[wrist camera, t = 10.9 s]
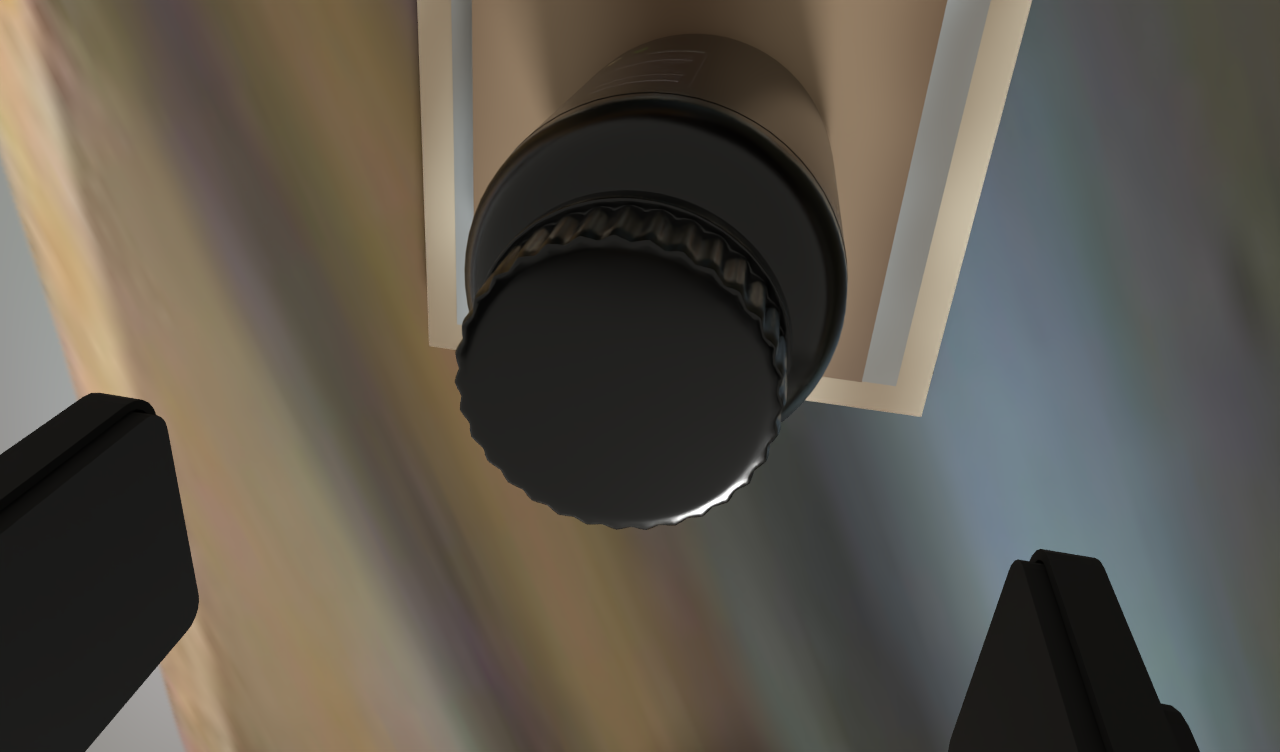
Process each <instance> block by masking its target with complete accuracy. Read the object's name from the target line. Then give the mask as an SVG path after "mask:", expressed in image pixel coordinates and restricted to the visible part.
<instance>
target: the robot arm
mask: <svg viewBox="0 0 1280 752" xmlns="http://www.w3.org/2000/svg"><path fill="white" fill-rule="evenodd" d="M198 604H199V595H198V589H197V584H196V579H195V573H194V568H193V563H192V557H191V552H190V546H189V541H188V536H187V530H186V525H185V520H184V514H183V509H182V504H181V498H180V493H179V488H178V482H177V477H176V472H175V466H174V461H173V456H172V450H171V445H170V440H169V434H168V429H167V426H166V423H165V421H164V420H163V419H162V417H159V416H157V415H156V414H155V411H154V409H153V407H152V406H151V405H150V404H149V403H148V402H146V401H144V400H140V399H134V398H128V397H122V396H116V395H110V394H104V393H91V394H88V395H86V396H84V397H82V398H81V399H79V400H78V401H77V402H75V403H74V404H72V405H71V406H69V407H68V408H67V409H66V410H64V411H62V412H61V413H59V414H58V415H57V416H55V417H54V418H52V419H51V420H49V421H48V422H47V423H46V424H44V425H42V426H41V427H39V428H38V429H36V430H35V431H34V432H32V433H31V434H30V435H28V436H27V437H25V438H24V439H22V440H21V441H19V442H18V443H17V444H15V445H14V446H12V447H11V448H9V449H8V450H6V451H5V452H4V453H2V454H1V455H0V752H85V751H86V750H87V749H88V748H89V746H90V745H91V744H92V743H93V742H94V740H95V739H96V738H97V737H98V736H99V734H100V733H101V732H102V731H103V730H104V729H105V727H106V726H107V725H108V724H109V723H110V722H111V720H112V719H113V718H114V717H115V716H116V714H117V713H118V712H119V711H120V710H121V709H122V707H123V706H124V705H125V703H127V701H128V700H129V699H130V698H131V697H132V696H133V694H134V693H135V692H136V691H137V690H138V688H139V687H140V686H141V685H142V684H143V682H144V681H145V680H146V679H147V678H148V677H149V675H150V674H151V673H152V672H153V671H154V670H155V668H156V667H157V666H158V665H159V664H160V662H161V661H162V660H163V659H164V658H165V657H166V655H167V654H168V653H169V652H170V651H171V649H172V648H173V647H174V646H175V645H176V644H177V642H178V641H179V640H180V639H181V638H182V636H183V635H184V634H185V633H186V632H187V631H188V629H189V628H190V626H191V625H192V623H193V621H194V619H195V617H196V613H197V610H198ZM948 752H1200V751H1199V748H1198V746H1197V744H1196V742H1195V739H1194V737H1193V735H1192V732H1191V730H1190V728H1189V726H1188V724H1187V723H1186V721H1185V719H1184V718H1183V716H1182V714H1181V713H1180V712H1179V711H1178V710H1176V709H1175V708H1174V707H1173V706H1171V705H1166V704H1161V703H1160V701H1159V699H1158V696H1157V694H1156V691H1155V689H1154V687H1153V684H1152V682H1151V679H1150V677H1149V675H1148V672H1147V670H1146V667H1145V665H1144V663H1143V660H1142V658H1141V655H1140V653H1139V650H1138V648H1137V646H1136V643H1135V641H1134V638H1133V636H1132V634H1131V631H1130V629H1129V626H1128V624H1127V622H1126V619H1125V617H1124V614H1123V612H1122V610H1121V607H1120V605H1119V602H1118V600H1117V597H1116V595H1115V593H1114V590H1113V588H1112V585H1111V583H1110V581H1109V578H1108V576H1107V573H1106V571H1105V569H1104V567H1103V565H1102V563H1101V562H1100V561H1099V560H1098V559H1096V558H1092V557H1086V556H1080V555H1074V554H1068V553H1062V552H1056V551H1050V550H1044V549H1040V550H1037V551H1036V552H1035V553H1034V554H1033V555H1032V557H1031V559H1030V561H1023V560H1015V561H1014V562H1013V564H1012V565H1011V567H1010V570H1009V572H1008V575H1007V578H1006V581H1005V584H1004V587H1003V589H1002V592H1001V595H1000V598H999V601H998V604H997V607H996V610H995V613H994V615H993V618H992V621H991V624H990V627H989V630H988V633H987V636H986V639H985V641H984V644H983V647H982V650H981V653H980V656H979V659H978V662H977V665H976V667H975V670H974V673H973V676H972V679H971V682H970V685H969V688H968V691H967V693H966V696H965V699H964V702H963V705H962V708H961V711H960V714H959V717H958V719H957V722H956V725H955V728H954V731H953V734H952V737H951V740H950V744H949V750H948Z"/></svg>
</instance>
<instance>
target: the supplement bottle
mask: <svg viewBox="0 0 1280 752" xmlns="http://www.w3.org/2000/svg"><path fill="white" fill-rule="evenodd" d="M464 273H465V290H466V298H467V305H468V309H469V313H468V314H467V316H466V317H465V318H464V320H463V323H462V336H463V339H462V340H461V342H460V343H459V345H458V347H457V349H456V352H455V354H456V359H457V363H458V366H459V370H458V372H457V375H456V379H455V383H456V386H457V388H458V390H459V392H460V394H461V396H462V397H461V402H460V410H461V412H462V414H463V415H464V417H465V418H466V419H467V420H468V421H469V423H470V432H471V437H472V438H473V439H474V440H475V441H476V442H477V443H478V444H479V445H481V446H482V447H483V449H484V451H485V455H486V458H487V460H488V461H489V462H490V463H491V464H493V465H494V466H496V467H497V468H499V469H500V470H501V471H502V473H503V475H504V477H505V478H506V480H507V481H508V482H509V483H511V484H513V485H514V486H516V487H519V488H521V489H523V490H524V491H525V492H526V494H527V496H528V497H529V498H530V499H531V500H533V501H536V502H538V503H542V504H545V505H548V506H549V507H550V508H551V509H552V510H553V511H555V512H556V513H557V514H559V515H565V516H572V517H575V518H577V519H579V520H580V521H582V522H583V523H585V524H603V525H606V526H608V527H611V528H613V529H616V530H617V529H623V528H627V527H635V528H638V529H644V530H648V529H650V528H653V527H655V526H658V525H677V524H679V523H680V522H682V521H683V520H685V519H686V518H691V517H701V516H704V515H705V514H706V513H707V512H708V511H709V510H710V509H711V508H712V507H713V506H717V505H721V504H724V503H727V502H728V501H729V500H730V498H731V497H732V495H733V493H734V492H735V491H736V490H737V489H739V488H742V487H744V486H746V485H748V484H749V483H750V481H751V478H752V476H753V473H754V470H755V469H757V468H758V467H760V466H761V465H762V464H763V463H764V462H766V460H767V458H768V456H769V448H770V443H772V442H773V441H774V440H775V438H776V437H777V436H778V434H779V432H780V428H781V422H783V421H784V420H785V419H786V418H788V417H789V416H790V415H791V414H792V413H793V412H794V411H795V410H796V409H797V408H798V407H799V406H800V405H801V404H802V403H803V402H804V401H805V400H806V398H807V397H808V396H809V395H810V394H811V392H812V391H813V390H814V388H815V387H816V385H817V384H818V382H819V381H820V379H821V378H822V377H823V375H824V373H825V371H826V369H827V367H828V365H829V363H830V362H831V360H832V358H833V355H834V353H835V350H836V348H837V345H838V343H839V339H840V336H841V332H842V329H843V325H844V319H845V313H846V306H847V290H848V272H847V257H846V249H845V242H844V234H843V227H842V219H841V212H840V204H839V197H838V189H837V182H836V174H835V167H834V161H833V154H832V150H831V145H830V141H829V137H828V133H827V130H826V127H825V125H824V122H823V119H822V117H821V115H820V113H819V111H818V109H817V107H816V105H815V103H814V102H813V100H812V98H811V97H810V95H809V94H808V92H807V91H806V89H805V88H804V87H803V86H802V84H801V83H800V82H799V81H798V80H797V79H796V77H795V76H794V75H793V74H792V73H791V72H790V71H789V70H788V69H786V68H785V67H784V66H783V65H782V64H780V63H779V62H778V61H777V60H775V59H774V58H772V57H771V56H769V55H768V54H766V53H764V52H763V51H761V50H759V49H757V48H755V47H753V46H751V45H748V44H746V43H743V42H741V41H738V40H734V39H731V38H728V37H723V36H717V35H711V34H680V35H672V36H667V37H663V38H659V39H655V40H652V41H649V42H647V43H644V44H641V45H639V46H637V47H635V48H633V49H630V50H628V51H627V52H625V53H624V54H622V55H620V56H619V57H617V58H616V59H614V60H613V61H612V62H610V63H609V64H608V65H606V66H605V67H604V68H602V69H601V70H600V71H599V72H598V73H596V74H595V75H594V76H593V77H592V78H591V79H590V80H589V81H588V82H587V83H586V84H584V85H583V86H582V87H581V88H580V89H579V90H578V91H577V92H576V93H575V94H574V95H572V96H571V97H570V98H569V99H568V100H567V101H566V102H565V103H564V104H563V105H562V106H561V107H559V108H558V109H557V110H556V111H555V112H554V113H553V114H552V115H551V116H550V117H549V118H548V119H546V120H545V121H544V122H543V123H542V124H541V125H540V126H539V127H538V128H537V129H536V130H535V131H533V132H532V133H531V134H530V135H529V136H528V137H527V138H526V139H525V140H524V141H523V142H522V143H521V144H520V145H519V146H518V147H517V148H516V149H515V150H514V151H513V152H512V153H511V155H510V156H509V157H508V158H507V159H506V160H505V162H504V163H503V164H502V165H501V167H500V168H499V170H498V171H497V173H496V174H495V175H494V177H493V178H492V180H491V181H490V183H489V184H488V186H487V188H486V190H485V192H484V194H483V196H482V197H481V199H480V202H479V204H478V207H477V209H476V212H475V214H474V217H473V220H472V224H471V227H470V231H469V235H468V241H467V247H466V253H465V268H464Z"/></svg>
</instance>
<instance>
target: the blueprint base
mask: <svg viewBox="0 0 1280 752" xmlns="http://www.w3.org/2000/svg"><path fill="white" fill-rule="evenodd" d="M1031 2H1032V0H417V11H418V40H419V68H420V97H421V126H422V155H423V184H424V213H425V241H426V270H427V299H428V328H429V346H432V347H439V348H446V349H453V350H456V349H457V347H458V345H459V343H460V342H461V340H462V339H463V336H462V323H463V320H464V318H465V317H466V316H467V314H468V313H469V309H468V305H467V298H466V290H465V273H464V268H465V253H466V247H467V241H468V235H469V231H470V227H471V224H472V220H473V217H474V214H475V212H476V209H477V207H478V204H479V202H480V199H481V197H482V196H483V194H484V192H485V190H486V188H487V186H488V184H489V183H490V181H491V180H492V178H493V177H494V175H495V174H496V173H497V171H498V170H499V168H500V167H501V165H502V164H503V163H504V162H505V160H506V159H507V158H508V157H509V156H510V155H511V153H512V152H513V151H514V150H515V149H516V148H517V147H518V146H519V145H520V144H521V143H522V142H523V141H524V140H525V139H526V138H527V137H528V136H529V135H530V134H531V133H532V132H533V131H535V130H536V129H537V128H538V127H539V126H540V125H541V124H542V123H543V122H544V121H545V120H546V119H548V118H549V117H550V116H551V115H552V114H553V113H554V112H555V111H556V110H557V109H558V108H559V107H561V106H562V105H563V104H564V103H565V102H566V101H567V100H568V99H569V98H570V97H571V96H572V95H574V94H575V93H576V92H577V91H578V90H579V89H580V88H581V87H582V86H583V85H584V84H586V83H587V82H588V81H589V80H590V79H591V78H592V77H593V76H594V75H595V74H596V73H598V72H599V71H600V70H601V69H602V68H604V67H605V66H606V65H608V64H609V63H610V62H612V61H613V60H614V59H616V58H617V57H619V56H620V55H622V54H624V53H625V52H627V51H628V50H630V49H633V48H635V47H637V46H639V45H641V44H644V43H647V42H649V41H652V40H655V39H659V38H663V37H667V36H672V35H680V34H711V35H717V36H723V37H728V38H731V39H734V40H738V41H741V42H743V43H746V44H748V45H751V46H753V47H755V48H757V49H759V50H761V51H763V52H764V53H766V54H768V55H769V56H771V57H772V58H774V59H775V60H777V61H778V62H779V63H780V64H782V65H783V66H784V67H785V68H786V69H788V70H789V71H790V72H791V73H792V74H793V75H794V76H795V77H796V79H797V80H798V81H799V82H800V83H801V84H802V86H803V87H804V88H805V89H806V91H807V92H808V94H809V95H810V97H811V98H812V100H813V102H814V103H815V105H816V107H817V109H818V111H819V113H820V115H821V117H822V119H823V122H824V125H825V127H826V130H827V133H828V137H829V141H830V145H831V150H832V154H833V161H834V167H835V174H836V182H837V189H838V197H839V204H840V212H841V219H842V227H843V234H844V242H845V249H846V257H847V272H848V290H847V306H846V313H845V319H844V325H843V329H842V332H841V336H840V339H839V343H838V345H837V348H836V350H835V353H834V355H833V358H832V360H831V362H830V363H829V365H828V367H827V369H826V371H825V373H824V375H823V377H822V378H821V379H820V381H819V382H818V384H817V385H816V387H815V388H814V390H813V391H812V392H811V394H810V395H809V396H808V397H807V398H806V400H808V401H815V402H822V403H828V404H835V405H842V406H849V407H856V408H863V409H870V410H877V411H884V412H891V413H898V414H905V415H912V416H919V417H921V416H922V412H923V408H924V404H925V401H926V397H927V393H928V389H929V386H930V382H931V378H932V374H933V371H934V367H935V363H936V359H937V356H938V352H939V348H940V344H941V340H942V337H943V333H944V329H945V325H946V322H947V318H948V314H949V310H950V307H951V303H952V299H953V295H954V292H955V288H956V284H957V280H958V277H959V273H960V269H961V265H962V262H963V258H964V254H965V250H966V246H967V243H968V239H969V235H970V231H971V228H972V224H973V220H974V216H975V213H976V209H977V205H978V201H979V198H980V194H981V190H982V186H983V183H984V179H985V175H986V171H987V168H988V164H989V160H990V156H991V152H992V149H993V145H994V141H995V137H996V134H997V130H998V126H999V122H1000V119H1001V115H1002V111H1003V107H1004V104H1005V100H1006V96H1007V92H1008V89H1009V85H1010V81H1011V77H1012V74H1013V70H1014V66H1015V62H1016V59H1017V55H1018V51H1019V47H1020V43H1021V40H1022V36H1023V32H1024V28H1025V25H1026V21H1027V17H1028V13H1029V10H1030V6H1031Z"/></svg>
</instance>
